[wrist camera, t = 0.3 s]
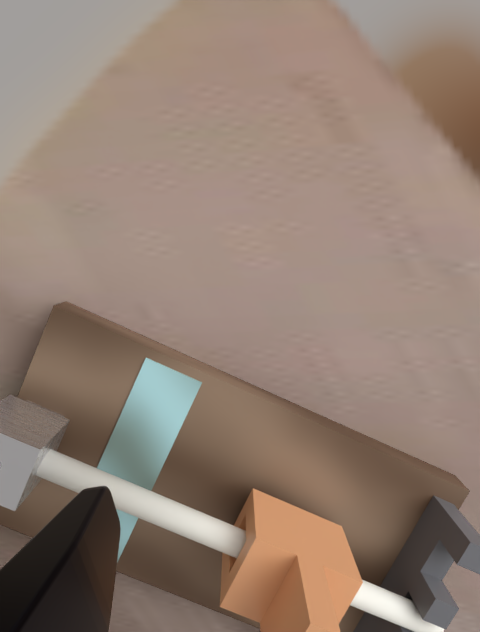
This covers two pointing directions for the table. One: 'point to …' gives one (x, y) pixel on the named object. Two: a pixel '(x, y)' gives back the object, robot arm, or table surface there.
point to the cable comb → (429, 566)
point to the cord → (208, 530)
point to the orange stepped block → (289, 569)
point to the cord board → (211, 455)
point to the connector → (25, 446)
